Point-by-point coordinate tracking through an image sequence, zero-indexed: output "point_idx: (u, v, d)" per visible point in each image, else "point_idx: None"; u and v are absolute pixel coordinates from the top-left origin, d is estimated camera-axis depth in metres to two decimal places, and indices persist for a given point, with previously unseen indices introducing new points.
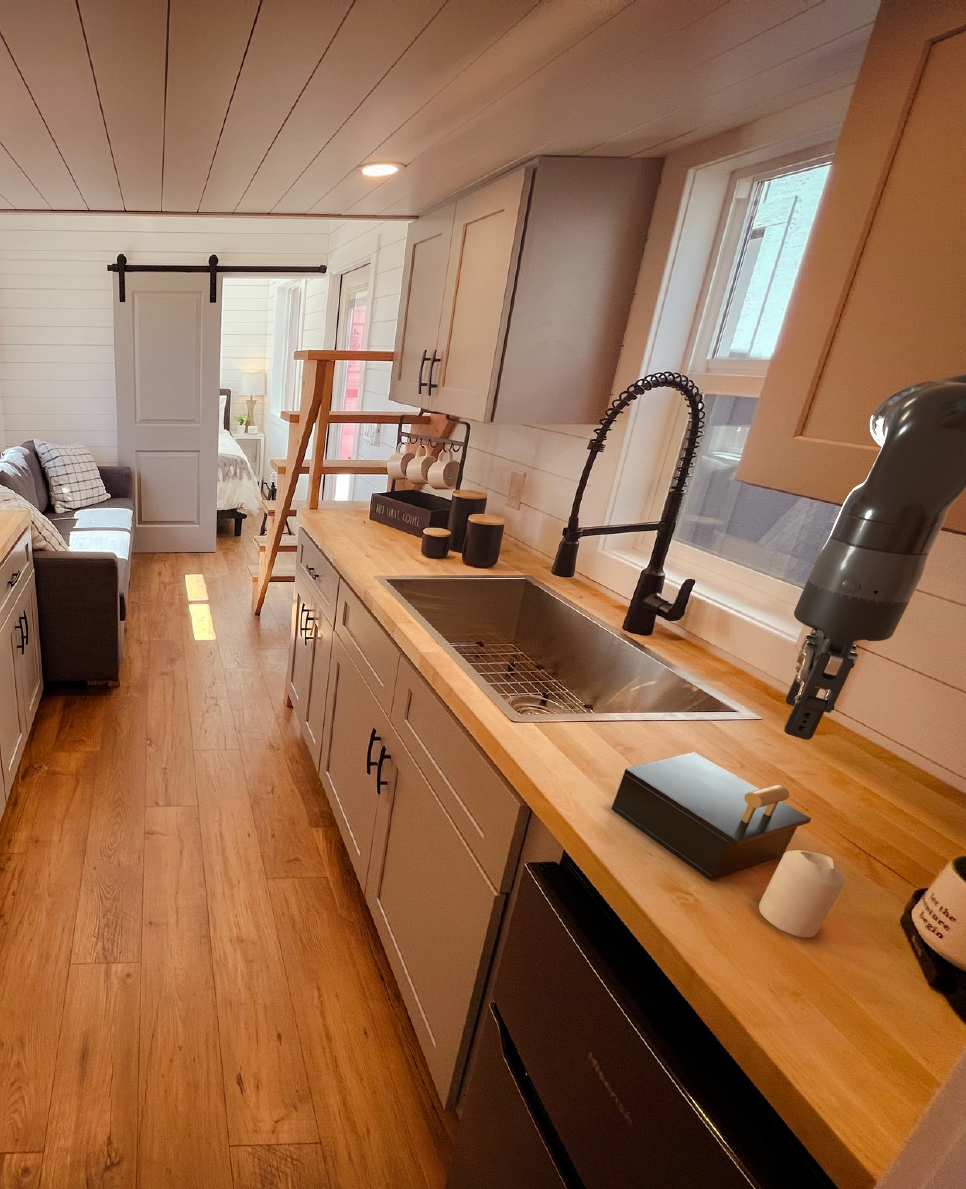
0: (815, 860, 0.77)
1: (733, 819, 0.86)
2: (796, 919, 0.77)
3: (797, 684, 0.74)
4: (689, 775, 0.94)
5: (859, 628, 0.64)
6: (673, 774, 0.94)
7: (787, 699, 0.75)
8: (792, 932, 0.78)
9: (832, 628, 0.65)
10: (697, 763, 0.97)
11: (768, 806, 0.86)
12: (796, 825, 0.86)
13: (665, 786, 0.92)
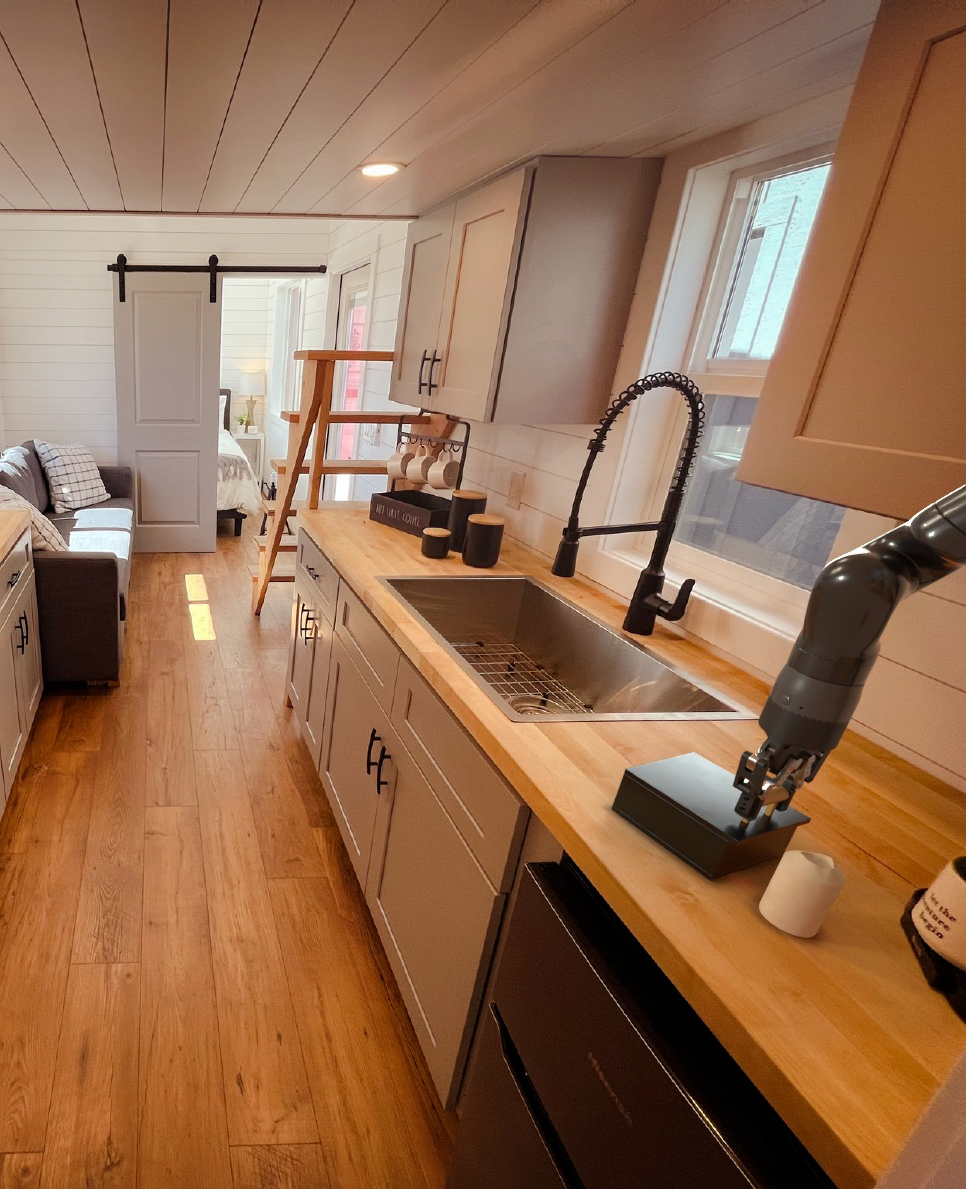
0: (815, 860, 0.77)
1: (733, 819, 0.86)
2: (796, 919, 0.77)
3: None
4: (689, 775, 0.94)
5: (788, 735, 0.79)
6: (673, 774, 0.94)
7: None
8: (792, 932, 0.78)
9: (770, 731, 0.81)
10: (697, 763, 0.97)
11: (768, 806, 0.86)
12: (796, 825, 0.86)
13: (665, 786, 0.92)
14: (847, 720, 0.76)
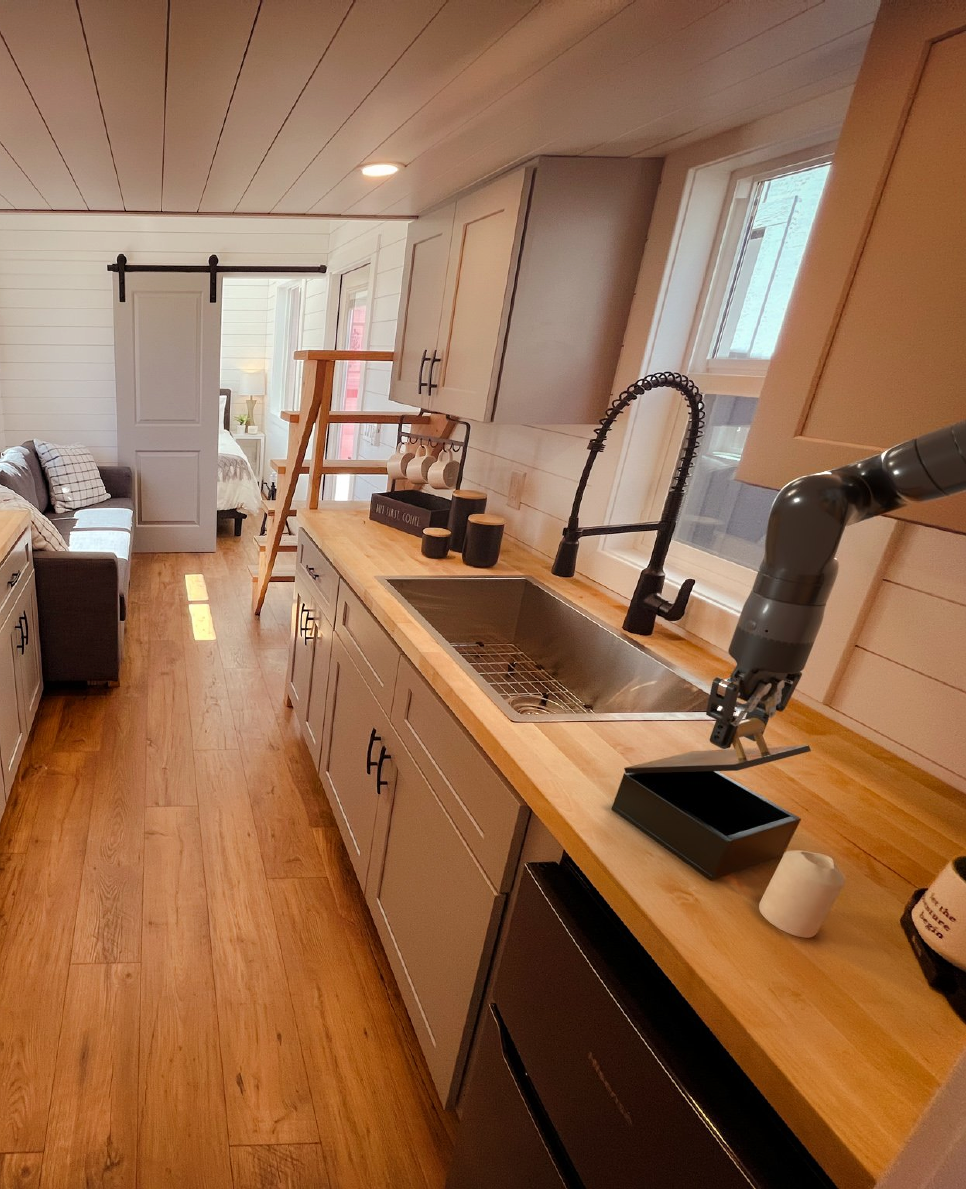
0: (815, 860, 0.77)
1: (730, 760, 0.85)
2: (796, 919, 0.77)
3: (748, 718, 0.88)
4: (687, 757, 0.94)
5: (756, 659, 0.81)
6: (671, 760, 0.95)
7: None
8: (792, 932, 0.78)
9: (739, 657, 0.83)
10: (695, 753, 0.97)
11: (758, 743, 0.87)
12: (796, 752, 0.85)
13: (663, 764, 0.92)
14: (811, 641, 0.79)
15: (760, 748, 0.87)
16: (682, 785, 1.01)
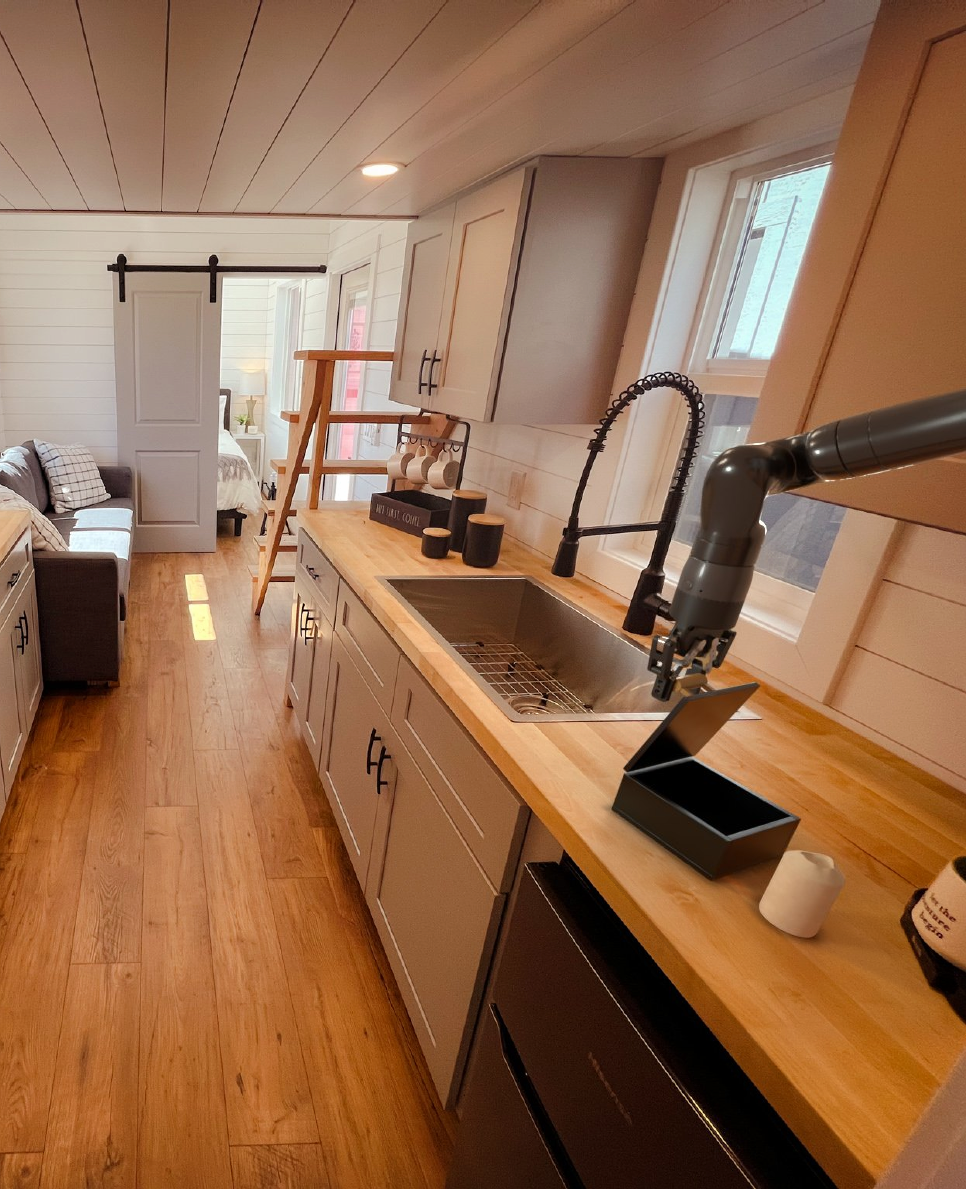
0: (815, 860, 0.77)
1: None
2: (796, 919, 0.77)
3: None
4: None
5: (692, 617, 0.88)
6: None
7: None
8: (792, 932, 0.78)
9: (677, 616, 0.90)
10: None
11: None
12: (744, 686, 0.90)
13: None
14: (741, 600, 0.86)
15: None
16: (682, 785, 1.01)
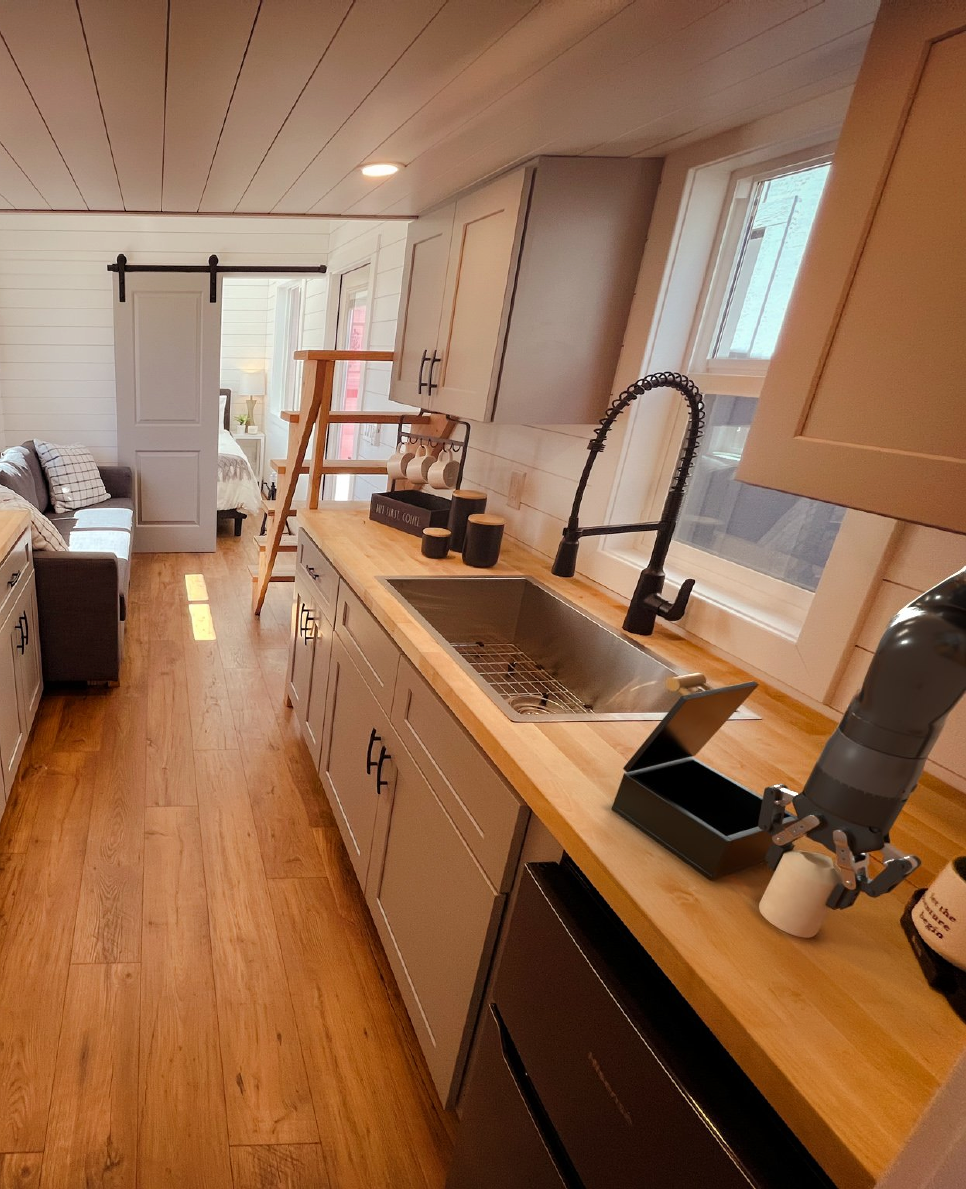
0: (815, 860, 0.77)
1: None
2: (796, 919, 0.77)
3: None
4: None
5: None
6: None
7: None
8: (792, 932, 0.78)
9: None
10: None
11: None
12: (743, 685, 0.90)
13: None
14: (843, 781, 0.71)
15: None
16: (682, 785, 1.01)
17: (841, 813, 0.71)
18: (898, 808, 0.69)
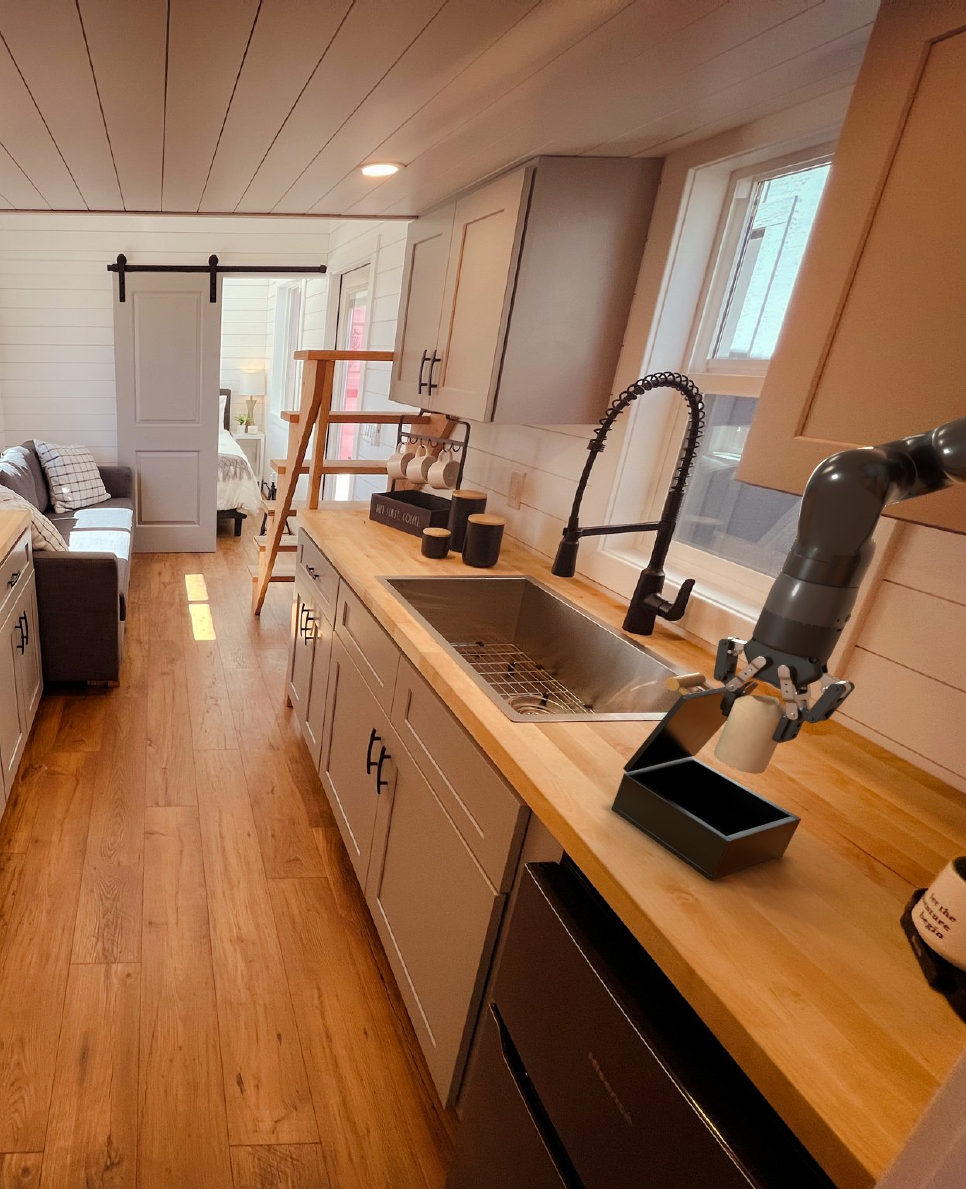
0: (763, 701, 0.84)
1: None
2: (746, 756, 0.84)
3: None
4: None
5: None
6: None
7: None
8: (743, 769, 0.85)
9: None
10: None
11: None
12: None
13: None
14: (785, 616, 0.77)
15: None
16: (682, 785, 1.01)
17: (784, 646, 0.78)
18: (834, 637, 0.76)
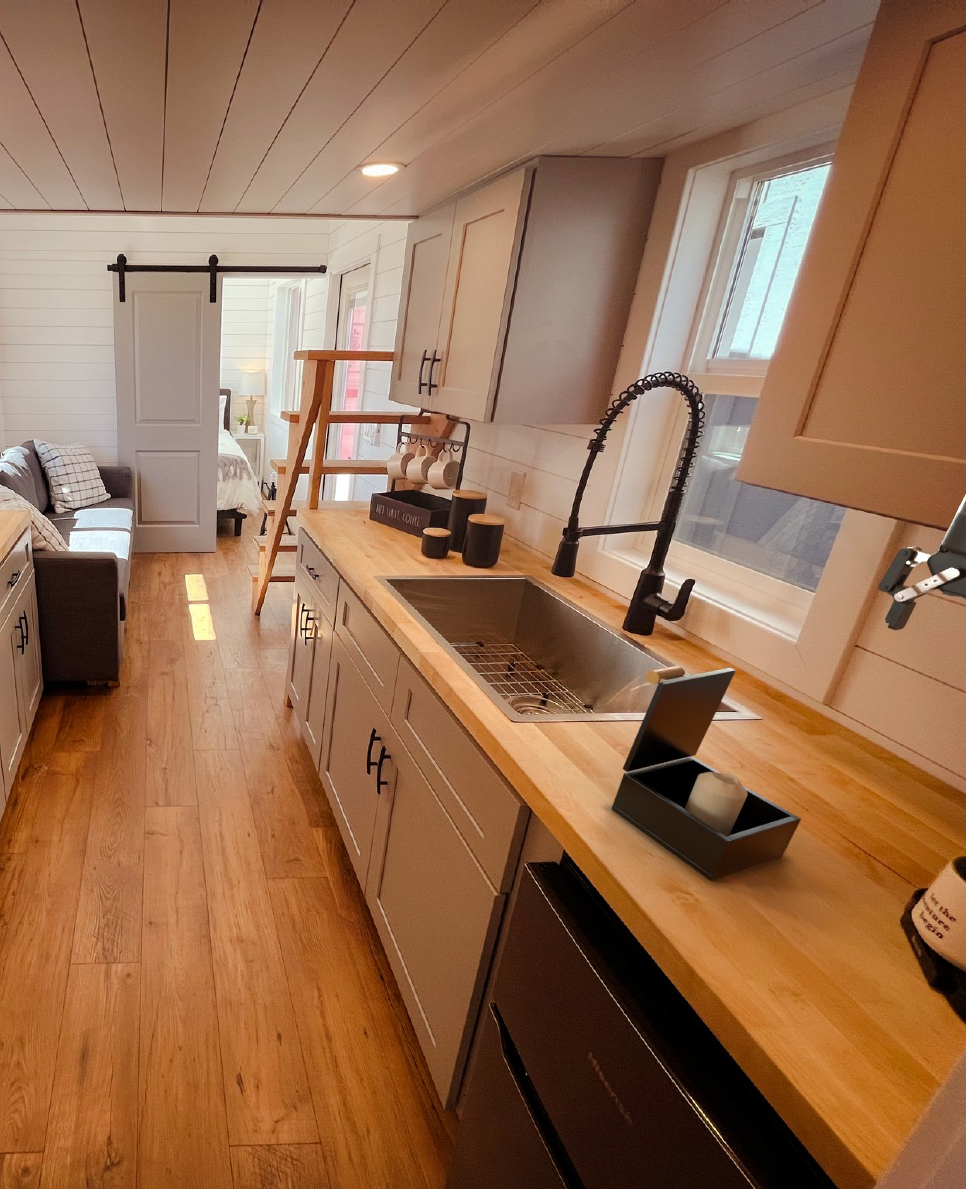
0: (723, 779, 0.90)
1: None
2: None
3: None
4: None
5: (945, 535, 0.77)
6: None
7: None
8: None
9: None
10: None
11: None
12: (720, 671, 0.93)
13: None
14: None
15: None
16: (682, 785, 1.01)
17: None
18: None
